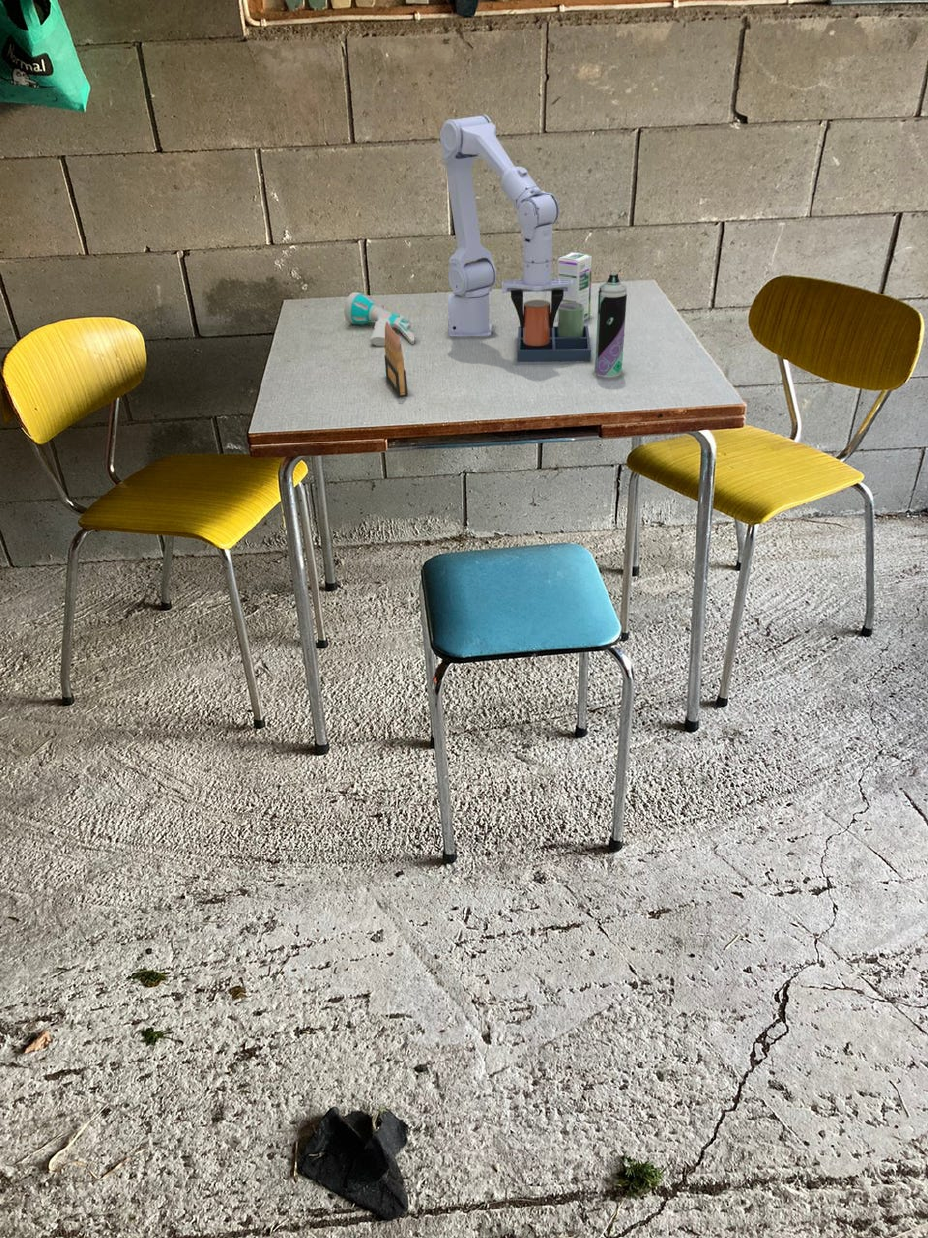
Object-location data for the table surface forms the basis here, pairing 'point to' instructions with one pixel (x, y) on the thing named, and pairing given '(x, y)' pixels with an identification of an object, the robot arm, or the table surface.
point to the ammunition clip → (394, 362)
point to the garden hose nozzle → (375, 318)
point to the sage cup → (570, 320)
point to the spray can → (610, 327)
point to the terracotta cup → (536, 323)
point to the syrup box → (577, 279)
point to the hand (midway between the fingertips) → (536, 326)
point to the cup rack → (556, 348)
